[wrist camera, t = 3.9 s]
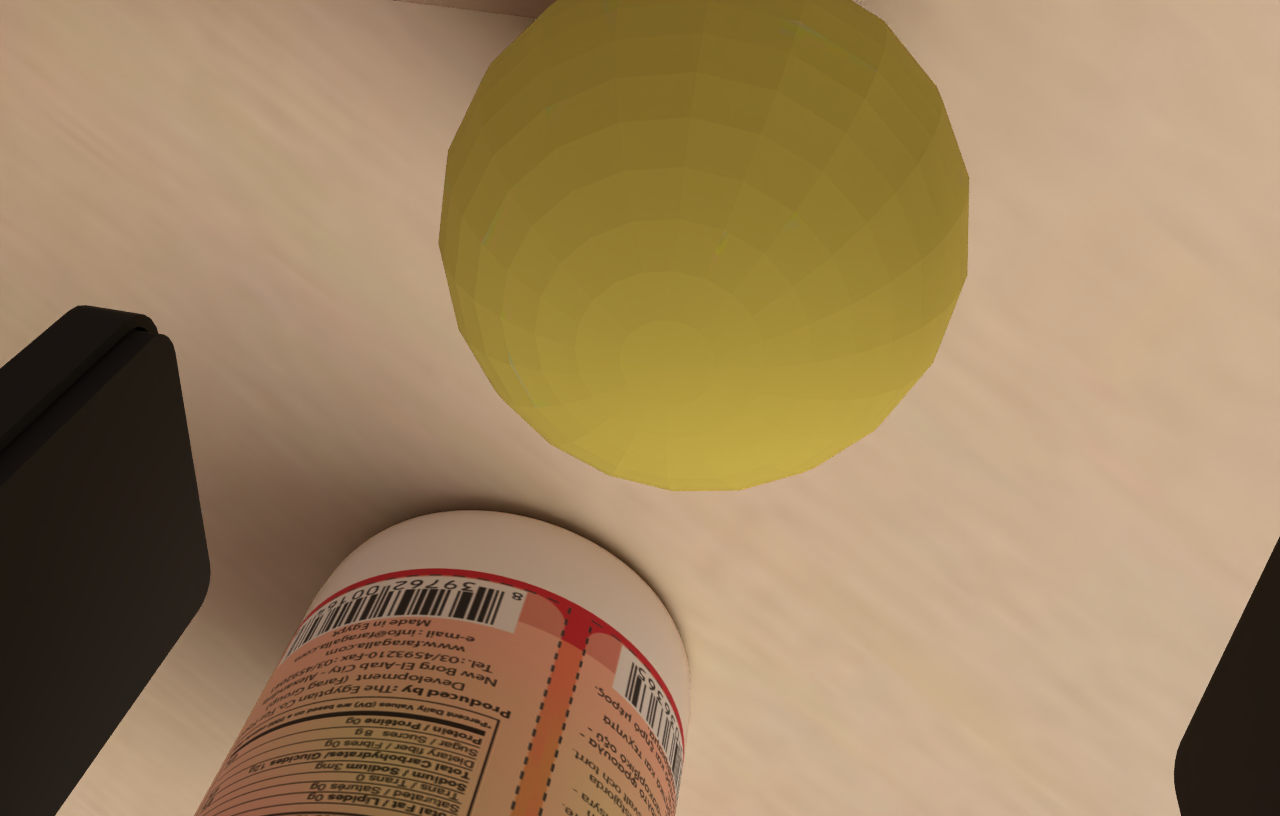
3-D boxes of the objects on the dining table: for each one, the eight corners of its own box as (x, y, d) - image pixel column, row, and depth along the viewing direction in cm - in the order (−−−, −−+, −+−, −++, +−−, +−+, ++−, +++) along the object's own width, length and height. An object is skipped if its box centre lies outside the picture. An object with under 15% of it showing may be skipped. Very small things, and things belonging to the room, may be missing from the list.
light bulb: (484, 90, 22) (256, 378, 14) (719, -237, 19) (603, -112, 10) (763, 309, 24) (709, 687, 15) (1028, 47, 20) (1144, 351, 12)
